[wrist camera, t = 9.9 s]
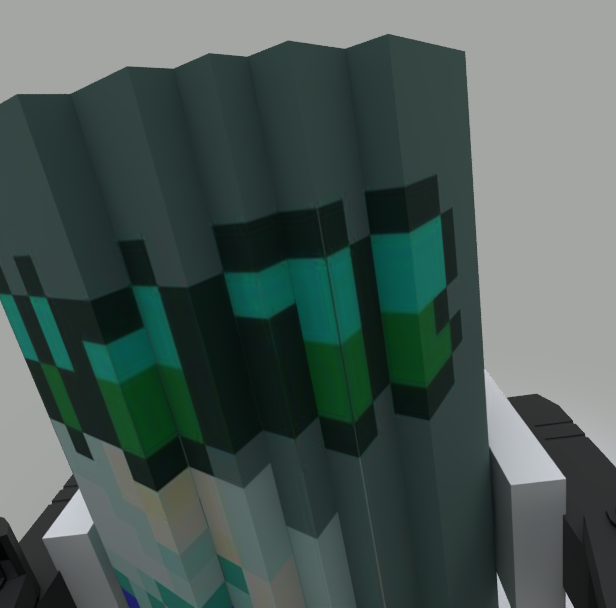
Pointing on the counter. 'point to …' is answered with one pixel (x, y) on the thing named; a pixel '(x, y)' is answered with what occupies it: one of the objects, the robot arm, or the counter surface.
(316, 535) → the can
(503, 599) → the counter surface
